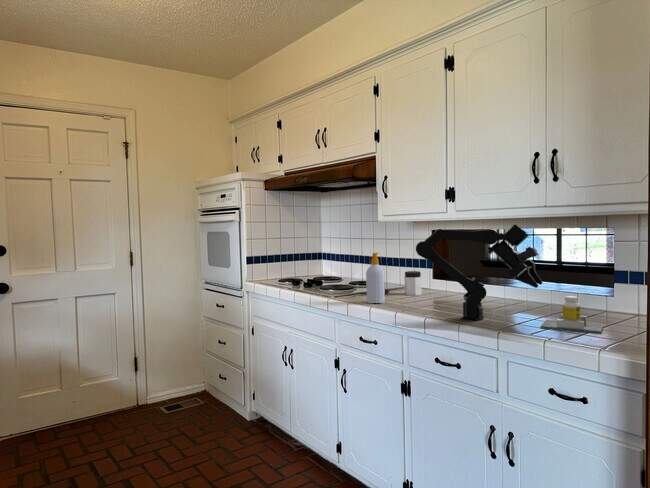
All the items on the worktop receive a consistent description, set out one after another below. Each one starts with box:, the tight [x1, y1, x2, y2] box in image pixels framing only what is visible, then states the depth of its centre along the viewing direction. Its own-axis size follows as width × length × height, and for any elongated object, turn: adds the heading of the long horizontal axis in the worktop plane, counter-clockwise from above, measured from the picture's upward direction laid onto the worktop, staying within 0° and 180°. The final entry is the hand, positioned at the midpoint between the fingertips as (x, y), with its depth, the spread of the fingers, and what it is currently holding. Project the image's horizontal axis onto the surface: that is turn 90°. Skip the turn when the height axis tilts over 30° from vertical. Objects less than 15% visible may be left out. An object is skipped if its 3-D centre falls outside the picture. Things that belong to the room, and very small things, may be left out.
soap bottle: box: [365, 252, 386, 304], centre depth 223 cm, size 9×9×24 cm
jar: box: [404, 270, 423, 297], centre depth 245 cm, size 9×8×12 cm
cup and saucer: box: [384, 281, 390, 295], centre depth 251 cm, size 12×12×6 cm
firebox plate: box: [540, 313, 604, 335], centre depth 161 cm, size 18×12×3 cm, turn 56°
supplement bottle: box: [562, 295, 581, 321], centre depth 161 cm, size 5×5×10 cm
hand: (539, 285), depth 171 cm, fingers open, 9 cm apart
